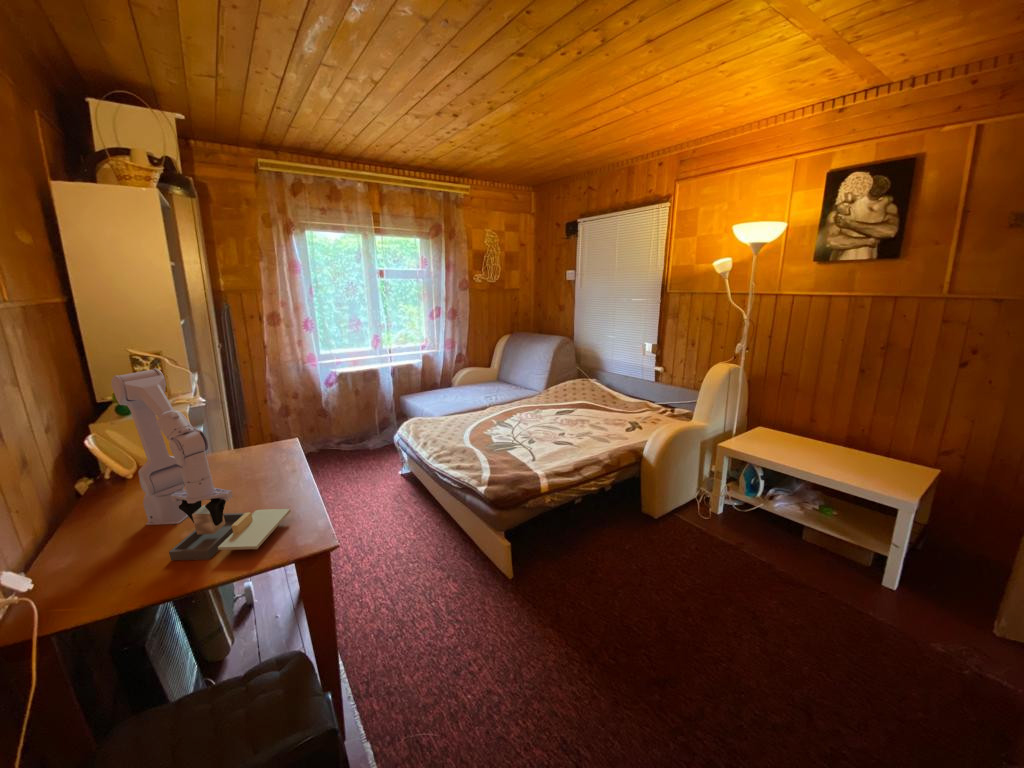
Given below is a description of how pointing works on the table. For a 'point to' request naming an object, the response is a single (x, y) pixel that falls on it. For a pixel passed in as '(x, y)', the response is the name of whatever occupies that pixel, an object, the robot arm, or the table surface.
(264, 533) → the lid
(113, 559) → the table surface
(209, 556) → the grey storage tray
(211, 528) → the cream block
